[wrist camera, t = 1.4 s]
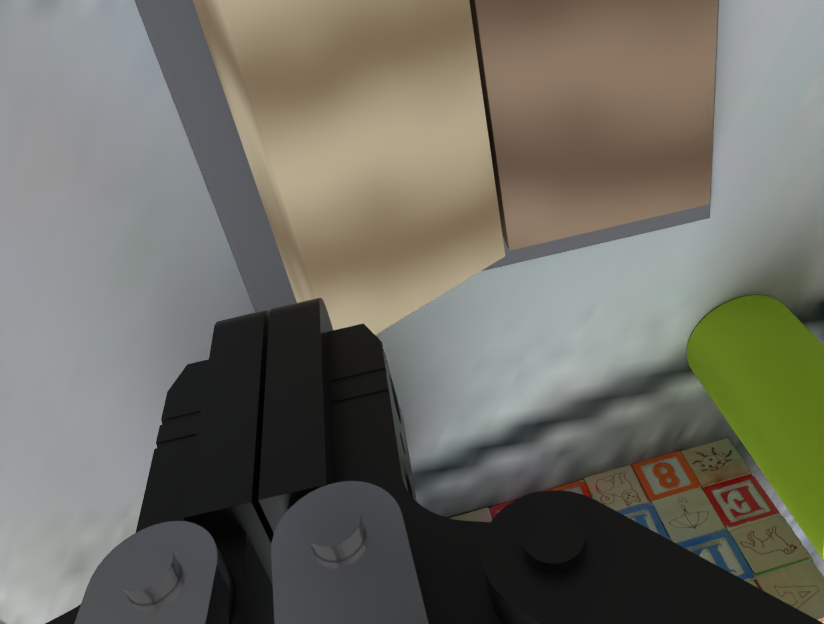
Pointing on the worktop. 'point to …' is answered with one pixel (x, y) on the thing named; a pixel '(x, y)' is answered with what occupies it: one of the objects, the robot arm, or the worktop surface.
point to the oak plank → (363, 145)
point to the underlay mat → (232, 177)
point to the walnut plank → (595, 110)
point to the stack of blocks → (708, 518)
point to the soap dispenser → (769, 396)
